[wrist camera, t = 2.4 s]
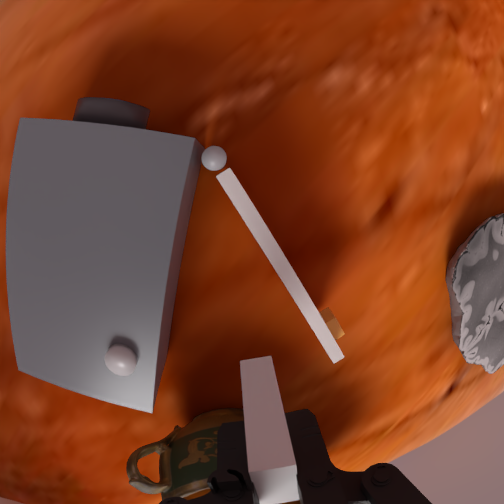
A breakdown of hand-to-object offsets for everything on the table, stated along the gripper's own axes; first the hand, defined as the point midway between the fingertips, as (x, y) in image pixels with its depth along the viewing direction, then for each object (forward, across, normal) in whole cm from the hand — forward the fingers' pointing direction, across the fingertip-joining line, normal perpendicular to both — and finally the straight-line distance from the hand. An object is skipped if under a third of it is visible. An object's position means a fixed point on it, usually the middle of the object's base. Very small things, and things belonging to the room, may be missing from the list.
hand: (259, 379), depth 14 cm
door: (+9, +2, +5) cm, 10 cm away
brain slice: (+10, +26, -4) cm, 28 cm away
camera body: (+9, -9, +6) cm, 14 cm away
